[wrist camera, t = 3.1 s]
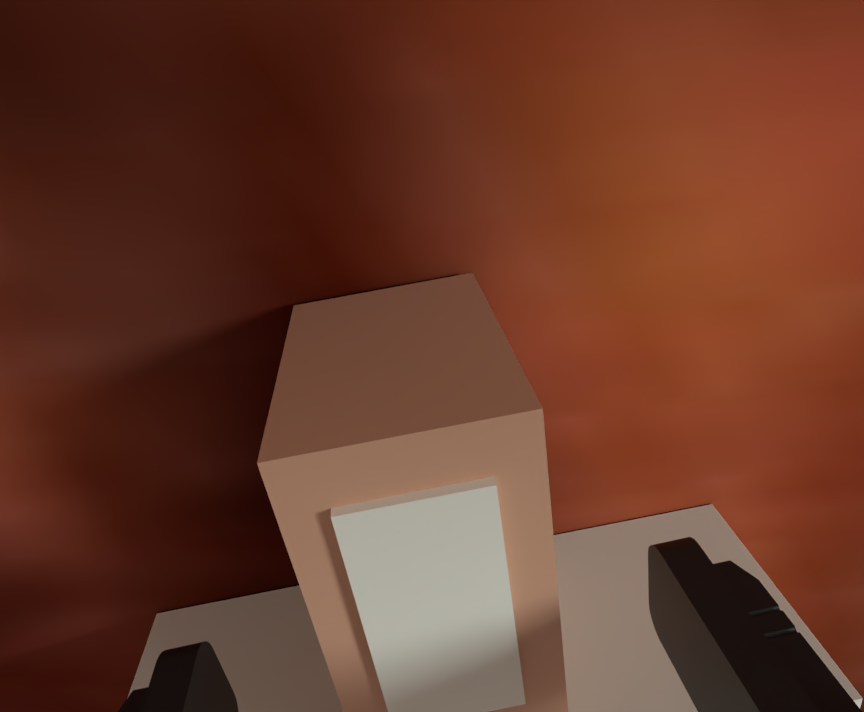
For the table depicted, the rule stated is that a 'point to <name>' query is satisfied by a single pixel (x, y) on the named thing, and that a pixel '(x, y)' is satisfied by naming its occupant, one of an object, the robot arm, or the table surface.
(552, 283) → the table surface
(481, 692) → the tan cardboard box
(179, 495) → the table surface
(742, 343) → the table surface
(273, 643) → the block
